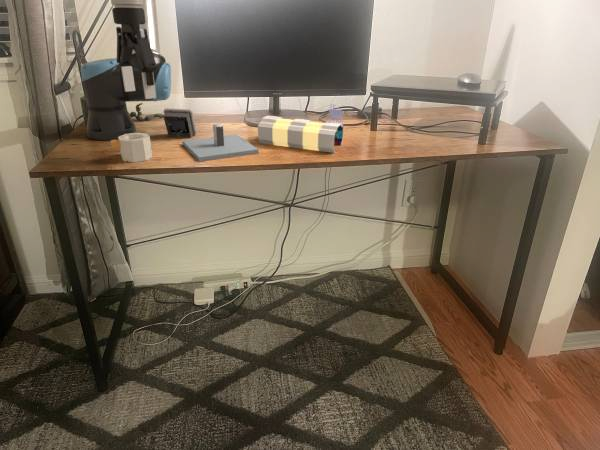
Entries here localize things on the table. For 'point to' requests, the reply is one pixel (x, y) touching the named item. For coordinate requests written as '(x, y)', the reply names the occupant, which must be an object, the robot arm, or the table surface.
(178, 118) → the electrical switch
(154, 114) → the zombie figurine
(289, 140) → the striped octagonal tube
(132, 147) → the beige octagonal hollow block
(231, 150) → the shaft plate
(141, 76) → the robot arm
